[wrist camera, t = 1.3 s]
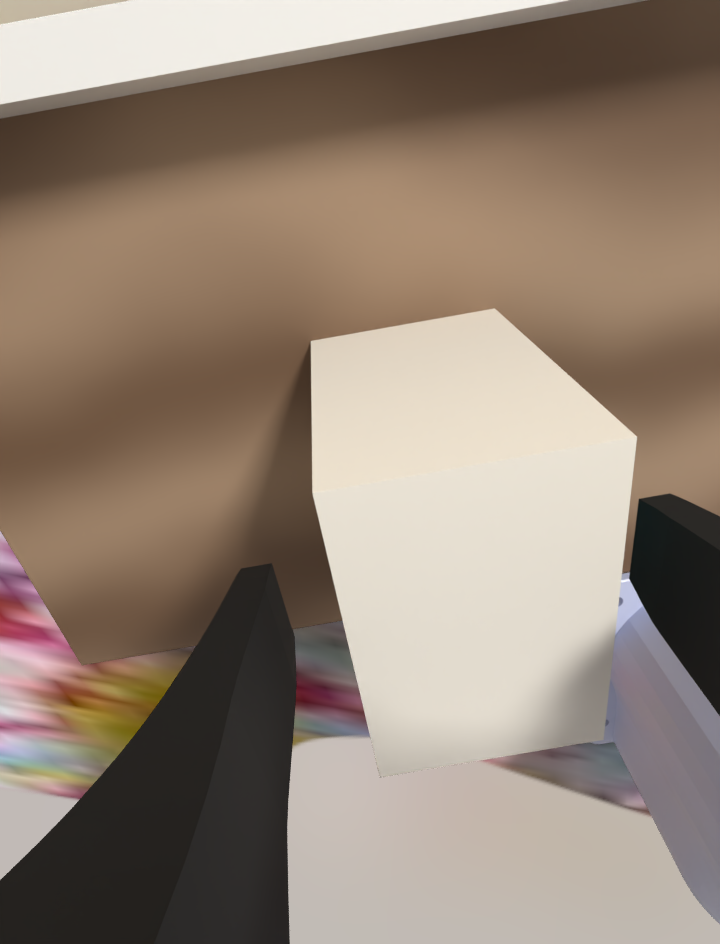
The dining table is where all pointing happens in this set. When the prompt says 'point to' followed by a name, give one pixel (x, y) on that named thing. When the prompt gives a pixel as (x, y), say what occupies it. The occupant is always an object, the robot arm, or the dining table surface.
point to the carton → (469, 537)
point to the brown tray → (325, 263)
